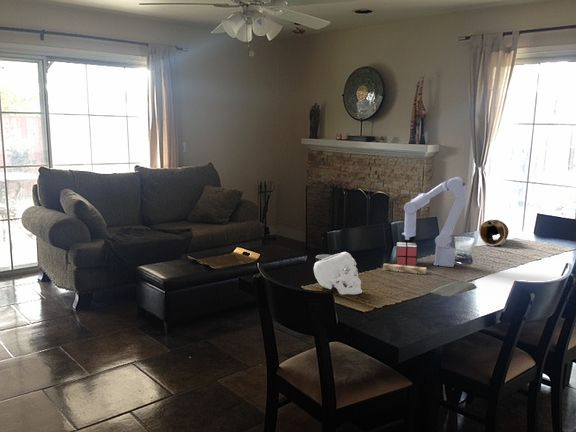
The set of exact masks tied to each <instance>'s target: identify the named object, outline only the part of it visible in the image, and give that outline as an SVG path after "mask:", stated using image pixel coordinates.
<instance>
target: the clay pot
mask: <svg viewBox="0 0 576 432" xmlns="http://www.w3.org/2000/svg"><path fill="white" fill-rule="evenodd" d="M478 230H479V232H478V233H479V237H480V239H481V240H482V242H483V243H484V244H485V245H487V246H493V247H494V246H495V247H497V246H498V247H500V246H503V245H504V244H505V243H506V242H507V240H508V239H507V238H508V236H509V233H510V232H509V228H508V225H506V223H504V222H503V221H500V220H499V219H489V220H486V221H483V223H481V225H480V226H479V229H478ZM497 235H499V237H498V239H497V240H494V237H493V236H497Z"/></svg>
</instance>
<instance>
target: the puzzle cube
mask: <svg viewBox="0 0 576 432" xmlns="http://www.w3.org/2000/svg"><path fill="white" fill-rule="evenodd" d="M395 246H396V247H395V248H396V251H395V265H405V266H416V267H418V265H417V264H418V262H417V261H418V244H417V243H416V242H414V243H405V242H401V241H399V242H396V244H395Z"/></svg>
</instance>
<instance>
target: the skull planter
mask: <svg viewBox="0 0 576 432" xmlns="http://www.w3.org/2000/svg"><path fill="white" fill-rule="evenodd" d="M332 255H333V256H330V257H327V258H325V259H322V260H320V261H318V262H315V263H314V264H313V265H314V266H313V274H314V277H315V279H316V281H317V282H318V283H319V285H320V286H321V287H323V288H325V289H328V290H332V289H333V288H335V289H336V290H337V292H338V294H340V295H359V294H362V293H363V290H362V285H361V284H362V280H361V278H359V271H358V268H357V267H356V266H357V262H356V259H355V258H353V256H352V255H351V253H349V252H347V251H343V252H340V253H335V254H332ZM344 284H345V285H346V287H345V285H344Z"/></svg>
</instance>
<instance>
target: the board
mask: <svg viewBox="0 0 576 432" xmlns="http://www.w3.org/2000/svg"><path fill="white" fill-rule="evenodd" d="M382 270H383V271H388V270H391V271H390V272H398V271H399V272H400V273H408V274H417V273H418V274H419V275H426V274H427V267H424V266H423V267H422V266H416V267H415V266H405V265H396V263H395V264H394V263H392V264H391V263H383V265H382ZM418 274H417V275H418Z"/></svg>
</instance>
